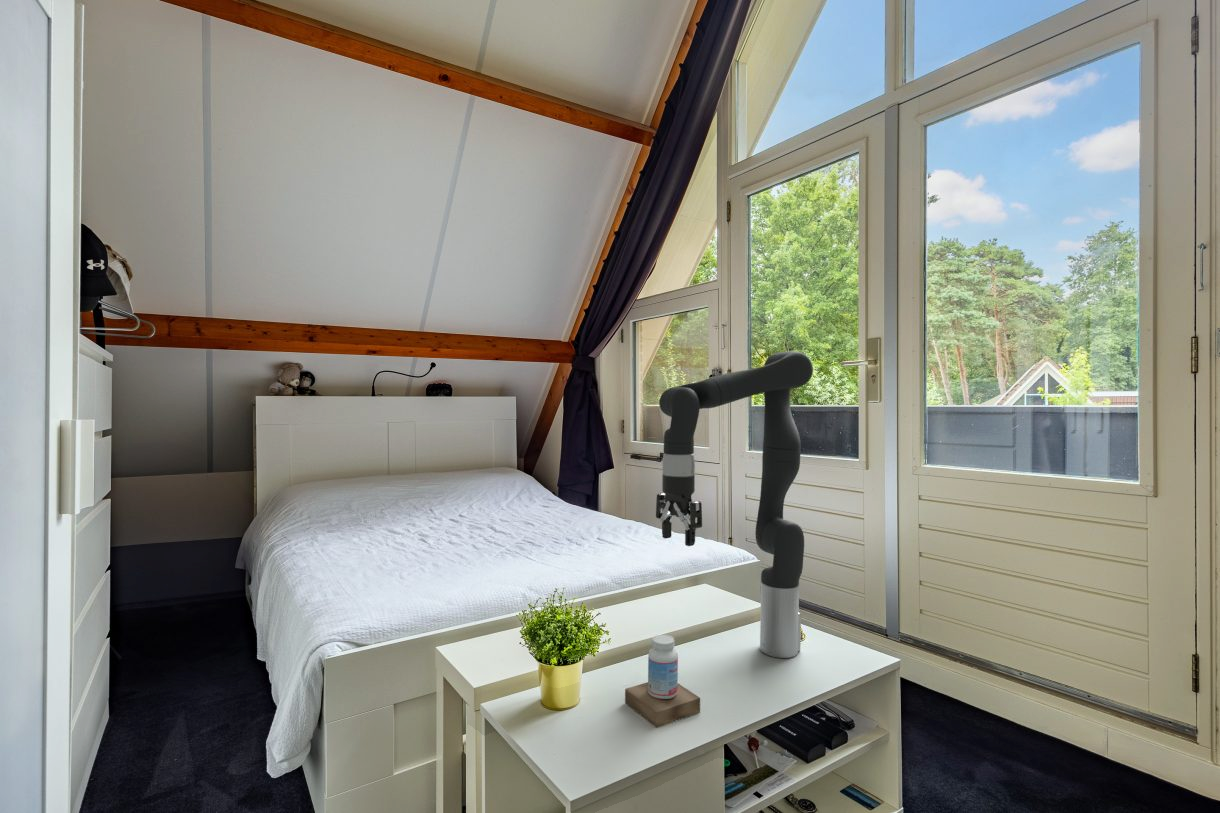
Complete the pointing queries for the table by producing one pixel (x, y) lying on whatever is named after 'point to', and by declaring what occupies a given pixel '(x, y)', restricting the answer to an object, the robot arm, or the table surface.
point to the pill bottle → (663, 668)
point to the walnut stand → (662, 705)
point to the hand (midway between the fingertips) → (678, 541)
